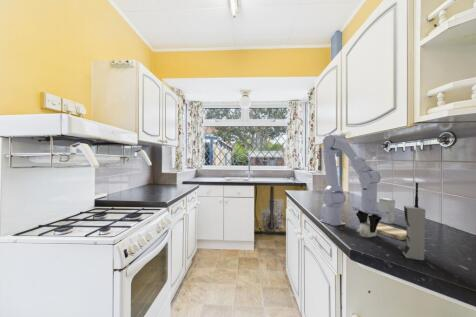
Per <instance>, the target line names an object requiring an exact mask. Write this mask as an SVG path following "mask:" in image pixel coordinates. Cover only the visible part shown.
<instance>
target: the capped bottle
mask: <svg viewBox="0 0 476 317" xmlns="http://www.w3.org/2000/svg"><path fill="white" fill-rule="evenodd" d="M356 231H357V233H359V236H360V237H362V238H372V237H377V234H378V233H377V228H376V231H375V232H374V233H371V232H370V221H367V222H364V223H360V222H359V228H357V229H356Z"/></svg>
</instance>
